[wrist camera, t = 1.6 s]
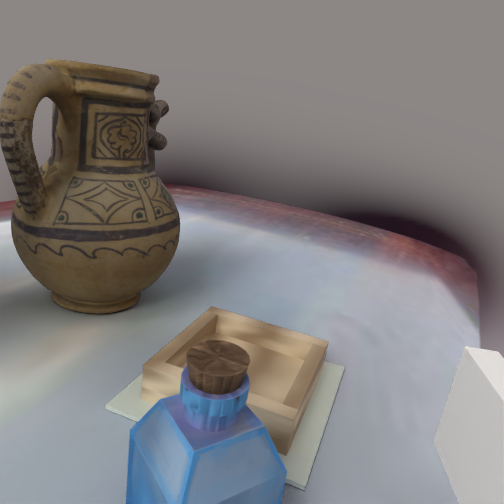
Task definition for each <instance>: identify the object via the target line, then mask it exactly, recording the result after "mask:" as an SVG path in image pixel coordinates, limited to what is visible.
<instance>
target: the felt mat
mask: <svg viewBox="0 0 504 504" xmlns="http://www.w3.org/2000/svg"><path fill="white" fill-rule="evenodd" d="M344 368H345V367H343V366H340V365H337V364H334V363H331V362H328V361H324V364H323V369H322V372H321V374H320V377H319V379H318V382H317V384H316V386H315V389H314V391H313V394H312V396H311V398H310V401H309V403H308V405H307V408H306V410H305V413H304V415H303V417H302V420H301V422H300V425H299V427H298V429H297V432H296V434H295V437H294V439H293V441H292V444H291V446H290V448H289V451H288V453H287V456H285V455H282V454H280V453H278V454H279V456H280V458H281V460H282V462H283V464H284V466H285V468H286V470H287V475H286V480H285V483H287V484H290V485H292V486H294V487H297V488H299V489H302V490H305V487H306V484H307V481H308V478H309V475H310V472H311V469H312V466H313V463H314V460H315V457H316V454H317V451H318V448H319V445H320V442H321V439H322V436H323V433H324V430H325V426H326V423H327V420H328V417H329V414H330V411H331V408H332V405H333V402H334V399H335V396H336V393H337V390H338V387H339V384H340V381H341V378H342V375H343V372H344ZM142 377H143V372H142V373H141V374H140V375H139V376H138V377H137V378H136V379H134V380H133V381H132V382H131V383H130V384H129V385H128V386H127V387H125V388H124V389H123V390H122V391H121V392H120V393H119V394H117V395H116V396H115V397H114V398H113V399H112V400H111V401H109V402H108V403H107V404H106V409H107V410H109V411H112V412H114V413H117V414H119V415H121V416H124V417H126V418H129V419H131V420H134V421H136V422H138V421H139V420H140V419H141V418H142V417H143V416H144V415H145V414H146V413H147V412H148V411H149V410H150V409H151V408H152V407H153V406H154V405H155V404H152V403H149V402H147V401H144V400H142V399H141V392H142Z"/></svg>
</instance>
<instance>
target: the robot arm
mask: <svg viewBox="0 0 504 504" xmlns="http://www.w3.org/2000/svg"><path fill="white" fill-rule="evenodd" d="M433 442H434V445H435V447H436V449H437V452H438V454H439V457H440V459H441V462H442V464H443V466H444V469H445V471H446V474H447V476H448V479H449V481H450V483H451V486H452V488H453V491H454V493H455V496H456V498H457V500H458V503H459V504H504V358H503V357H502V356H501V355H500V353H499V352H497V351H491V350H485V349H479V348H472V347H466V346H465V347H464V350H463V353H462V356H461V359H460V362H459V365H458V368H457V371H456V374H455V377H454V380H453V383H452V386H451V389H450V392H449V395H448V398H447V401H446V405H445V408H444V411H443V414H442V417H441V420H440V423H439V426H438V429H437V432H436V435H435V438H434V441H433Z"/></svg>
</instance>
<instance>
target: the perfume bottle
mask: <svg viewBox="0 0 504 504" xmlns="http://www.w3.org/2000/svg"><path fill="white" fill-rule="evenodd" d="M186 359H187V366H186V367H185V368H184V370H183V372H182V374H181V384H180V394H177V395H173V396H169V397H166V398H162V399H160V400H159V401H158V402H157V403H156V404H155V405H154V406H153V407H152V408H151V409H150V410H149V411H148V412H147V413H146V414H145V415H144V416H143V417H142V418H141V419H140V420H139V421H138V422H137V423H136V424H135V425H134V426H133V427H132V428H131V429H130V440H129V458H128V476H127V494H126V504H281V499H282V494H283V489H284V484H285V480H286V475H287V470H286V468H285V466H284V464H283V462H282V460H281V458H280V456H279V454H278V452H277V450H276V448H275V446H274V443H273V441H272V439H271V437H270V435H269V433H268V431H267V429H266V427H265V425H264V424H263V423H262V422H261V421H260V420H259V418H258V417H257V416H256V415H255V414H254V413H253V412H252V411H251V409H250V408H249V407H248V406H247V405H246V401H247V398H248V392H249V386H250V380H249V376H248V374H247V373H246V371H247V369H248V366H249V364H250V357H249V355H248V353H247V352H246V350H244V349H243V348H241V347H240V346H238V345H236V344H234V343H231V342H227V341H223V340H206V341H201V342H198V343H195V344H194V345H192V346H191V347H190V348H189V349H188V351H187V353H186Z"/></svg>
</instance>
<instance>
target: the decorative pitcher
mask: <svg viewBox="0 0 504 504" xmlns="http://www.w3.org/2000/svg"><path fill="white" fill-rule="evenodd" d="M158 84H159V77H158V76H157V75H153V74H147V73H143V72H139V71H134V70H128V69H121V68H116V67H109V66H103V65H96V64H89V63H82V62H75V61H65V60H54V59H47V60H46V61H45V64H30V65H27V66H25V67H22V68H21V69H19V70H18V71H17V72H15V74H14V75H13V76H12V77H11V78H10V80H9V81H8V83H7V85H6V87H5V89H4V91H3V94H2V99H1V106H0V142H1V147H2V151H3V154H4V157H5V161H6V164H7V166H8V169H9V172H10V175H11V178H12V181H13V183H14V186H15V188H16V191H17V194H18V197H17V199H16V201H15V204H14V207H13V211H12V219H11V230H12V237H13V242H14V245H15V248H16V250H17V253H18V255H19V257H20V258H21V260H22V262H23V263H24V265H25V266H26V268H27V269H28V270H29V272H30V273H31V274H32V275H33V276H34V277H35V278H36V279H37V280H38V281H39V282H40V283H41V284H42V285H43V286H45V287H46V288H47V289H49V290H51V291H52V298H53V300H54V301H55V302H56V303H57V304H58V305H60V306H62V307H64V308H66V309H70V310H73V311H78V312H84V313H95V314H103V313H113V312H118V311H122V310H125V309H127V308H129V307H131V306H133V305H134V304H135V303H136V302H137V301H138V300H139V298H140V292H141V291H142V290H144V289H146V288H147V287H149V286H150V285H152V284H153V283H154V282H155V281H156V280H157V279H158V278H159V277H160V276H161V274H162V273H163V272H164V271H165V269H166V268H167V266H168V265H169V263H170V262H171V260H172V258H173V256H174V254H175V251H176V248H177V245H178V241H179V233H180V218H179V213H178V210H177V208H176V205H175V202H174V200H173V198H172V196H171V195H170V193H169V191H168V189H167V188H166V187H165V185H164V184H163V183H162V181H161V180H160V179H159V178H158V176H157V175H156V173H155V172H154V170H155V153H154V150H162V149H164V148H165V146H166V145H167V140H166V138H165V136H163V135H162V134H160V133H158V132H156V125H157V124H158V122H159V120H160V118H161V117H163V116H164V115H165V114H166V113H167V112H168V111H169V106H168V104H167V103H166V102H165V101H163V100H157V101H155V96H154V90H155V88H156V86H157V85H158ZM44 97H48V98H50V99H51V100H52V101H53V115H52V149H51V156H50V158H49V159H48V160H47V161H46V162H45V163H44V164H43V165H42V166H41V167H40V168H39V167H38V164H37V160H36V156H35V153H34V149H33V143H32V128H33V118H34V114H35V110H36V108H37V105H38V103H39V102H40V101H41V100H42V98H44Z"/></svg>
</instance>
